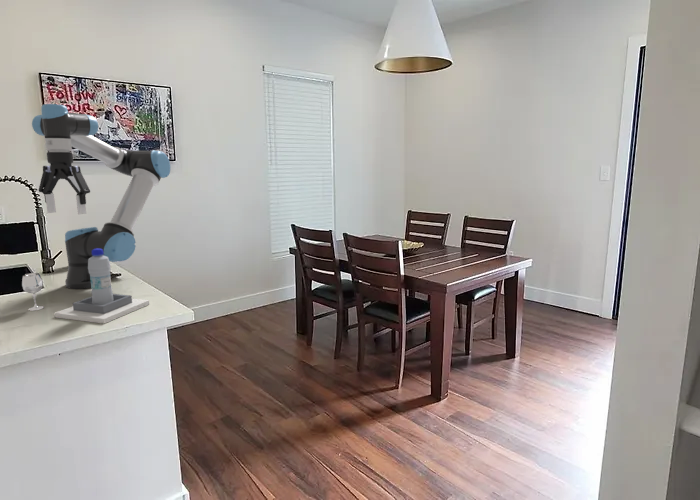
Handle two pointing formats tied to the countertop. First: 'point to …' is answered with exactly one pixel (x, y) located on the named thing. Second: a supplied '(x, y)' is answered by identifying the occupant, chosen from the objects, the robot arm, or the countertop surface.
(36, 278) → the wineglass
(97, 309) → the dock
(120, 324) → the countertop surface
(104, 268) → the bottle
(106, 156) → the robot arm
